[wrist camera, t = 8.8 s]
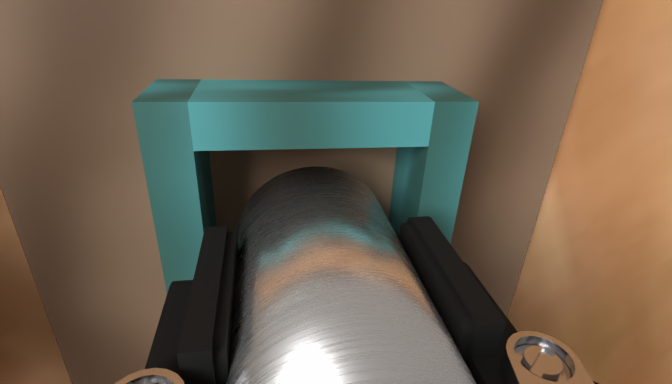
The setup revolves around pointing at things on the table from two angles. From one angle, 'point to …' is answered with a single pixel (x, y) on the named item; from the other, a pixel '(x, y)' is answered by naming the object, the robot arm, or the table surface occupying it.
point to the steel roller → (331, 291)
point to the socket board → (265, 135)
